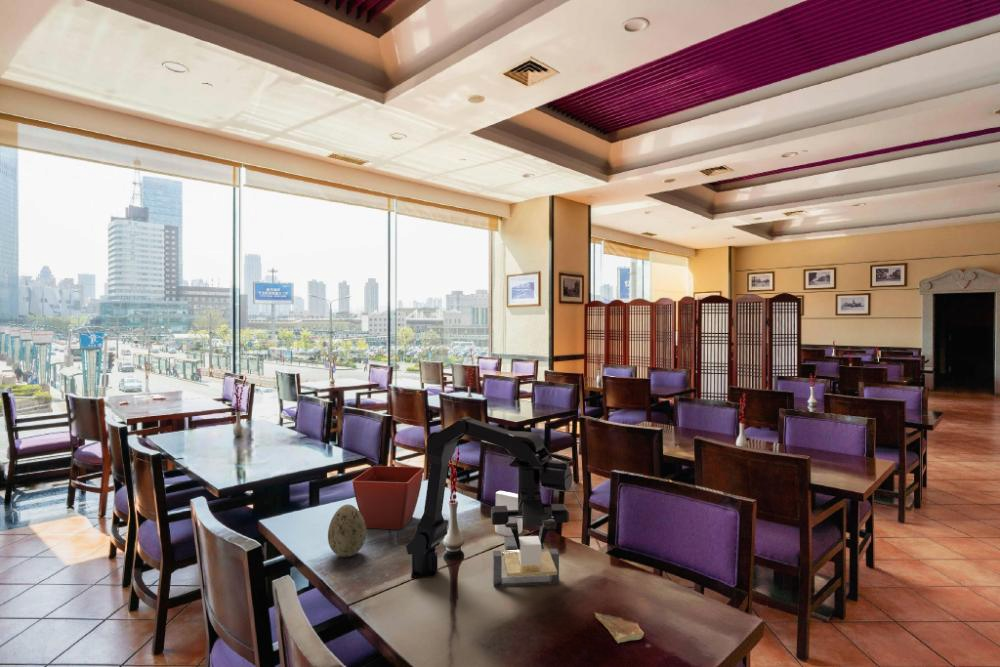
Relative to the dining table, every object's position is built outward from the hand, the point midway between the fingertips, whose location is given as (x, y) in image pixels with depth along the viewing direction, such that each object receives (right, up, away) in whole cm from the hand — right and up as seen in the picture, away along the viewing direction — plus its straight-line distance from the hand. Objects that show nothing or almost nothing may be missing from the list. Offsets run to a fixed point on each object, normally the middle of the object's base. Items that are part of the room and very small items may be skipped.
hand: (529, 548), depth 128 cm
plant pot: (-45, -12, +50) cm, 68 cm away
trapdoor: (0, -6, +6) cm, 8 cm away
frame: (-1, -12, +8) cm, 15 cm away
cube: (0, -3, 0) cm, 3 cm away
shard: (+18, -13, -13) cm, 26 cm away
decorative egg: (-52, -12, +24) cm, 59 cm away
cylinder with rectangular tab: (-4, -12, +43) cm, 45 cm away
